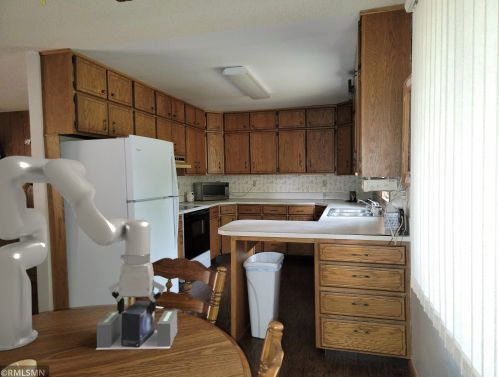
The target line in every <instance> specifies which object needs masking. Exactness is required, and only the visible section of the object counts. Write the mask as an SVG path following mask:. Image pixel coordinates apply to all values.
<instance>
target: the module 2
mask: <svg viewBox="0 0 499 377" xmlns="http://www.w3.org/2000/svg"><path fill="white" fill-rule="evenodd" d="M156 330H157V347H170V346H172V344H173V342H174V339H175V337H176V335H177V333H178V331H177V330H178V310H164V311H163V313H162V315H161V317H160V318H159V320H158V321H157V323H156ZM170 348H171V347H170Z"/></svg>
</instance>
